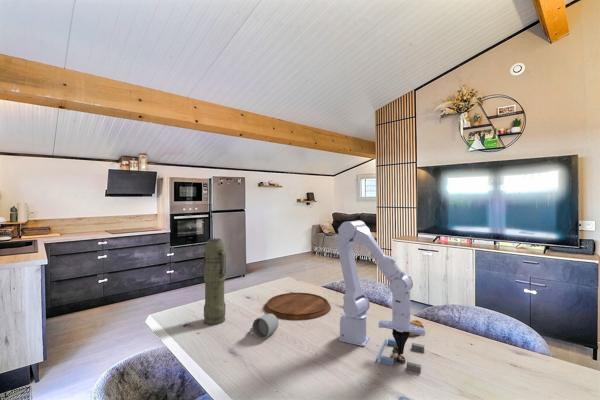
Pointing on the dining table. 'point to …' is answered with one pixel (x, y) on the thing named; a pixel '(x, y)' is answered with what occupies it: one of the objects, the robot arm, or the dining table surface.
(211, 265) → the thermos
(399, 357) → the composite cable
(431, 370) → the dining table surface
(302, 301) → the cutting board
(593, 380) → the dining table surface
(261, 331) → the ceramic mug
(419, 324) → the pastry
